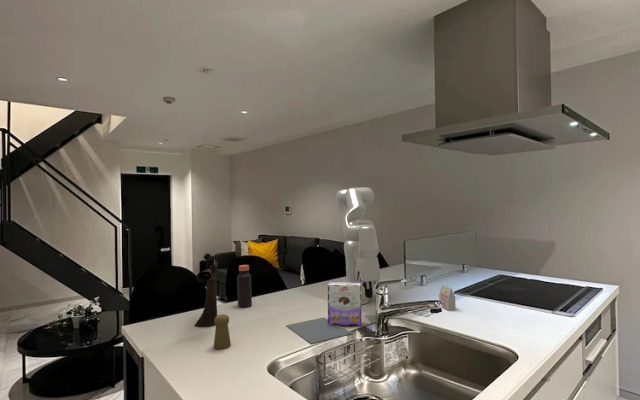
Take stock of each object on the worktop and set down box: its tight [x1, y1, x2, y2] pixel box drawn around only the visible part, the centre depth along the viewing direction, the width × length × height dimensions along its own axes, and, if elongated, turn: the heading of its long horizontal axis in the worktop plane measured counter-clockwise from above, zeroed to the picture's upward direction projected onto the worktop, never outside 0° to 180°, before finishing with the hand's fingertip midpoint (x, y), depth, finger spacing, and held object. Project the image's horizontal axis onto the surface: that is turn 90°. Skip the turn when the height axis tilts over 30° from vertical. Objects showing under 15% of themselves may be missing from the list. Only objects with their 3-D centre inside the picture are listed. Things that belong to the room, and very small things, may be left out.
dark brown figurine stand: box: [194, 252, 218, 328], centre depth 149 cm, size 31×10×30 cm, turn 11°
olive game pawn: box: [213, 314, 232, 351], centre depth 126 cm, size 6×6×11 cm
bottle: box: [236, 264, 253, 309], centre depth 175 cm, size 7×7×20 cm
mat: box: [285, 317, 354, 345], centre depth 139 cm, size 18×22×1 cm
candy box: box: [327, 281, 362, 326], centre depth 146 cm, size 14×6×16 cm, turn 84°
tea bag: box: [438, 285, 456, 312], centre depth 163 cm, size 4×7×10 cm, turn 16°
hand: (368, 297), depth 152 cm, fingers closed
